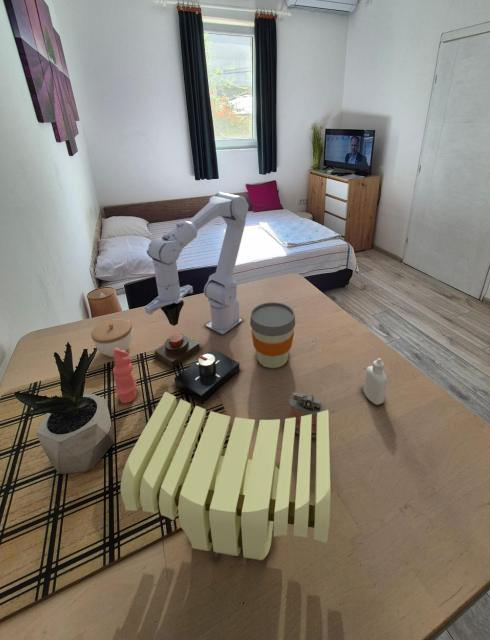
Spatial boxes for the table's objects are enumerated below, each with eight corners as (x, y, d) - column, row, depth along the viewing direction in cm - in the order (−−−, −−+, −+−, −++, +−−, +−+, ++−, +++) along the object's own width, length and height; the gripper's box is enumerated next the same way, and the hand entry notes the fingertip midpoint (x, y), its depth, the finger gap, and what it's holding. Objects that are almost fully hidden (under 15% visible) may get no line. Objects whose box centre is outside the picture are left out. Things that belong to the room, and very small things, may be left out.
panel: (214, 356, 95) (213, 348, 94) (239, 371, 90) (239, 362, 88) (175, 386, 85) (174, 377, 83) (202, 405, 79) (201, 395, 78)
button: (177, 337, 98) (176, 332, 97) (185, 342, 96) (184, 337, 95) (167, 343, 95) (166, 339, 94) (175, 348, 93) (174, 343, 92)
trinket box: (117, 366, 92) (111, 338, 88) (88, 357, 95) (80, 331, 91) (143, 342, 101) (138, 317, 97) (115, 335, 104) (109, 311, 100)
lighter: (325, 428, 73) (328, 395, 69) (322, 441, 70) (325, 407, 66) (290, 418, 76) (291, 385, 72) (286, 430, 73) (287, 397, 69)
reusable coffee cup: (243, 365, 92) (241, 321, 86) (261, 339, 102) (261, 298, 96) (285, 377, 87) (286, 332, 81) (299, 349, 98) (301, 307, 92)
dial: (219, 367, 87) (218, 356, 85) (208, 378, 83) (207, 366, 82) (206, 362, 89) (205, 350, 87) (195, 372, 85) (194, 360, 84)
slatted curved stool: (137, 548, 53) (116, 478, 46) (176, 455, 67) (165, 391, 60) (322, 581, 49) (331, 510, 42) (322, 475, 64) (328, 409, 57)
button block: (182, 339, 103) (180, 328, 101) (199, 349, 98) (198, 338, 97) (155, 356, 95) (153, 345, 93) (173, 368, 91) (171, 356, 89)
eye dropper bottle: (379, 388, 84) (386, 351, 79) (384, 406, 79) (391, 367, 74) (362, 387, 84) (368, 350, 80) (365, 404, 79) (372, 366, 75)
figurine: (143, 389, 84) (133, 342, 78) (133, 405, 79) (122, 356, 73) (124, 387, 84) (113, 340, 78) (113, 403, 80) (100, 355, 74)
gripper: (153, 297, 80) (161, 342, 85) (198, 275, 90) (202, 316, 96) (136, 289, 83) (145, 332, 89) (181, 269, 94) (186, 309, 100)
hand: (173, 323), depth 93 cm, fingers closed
